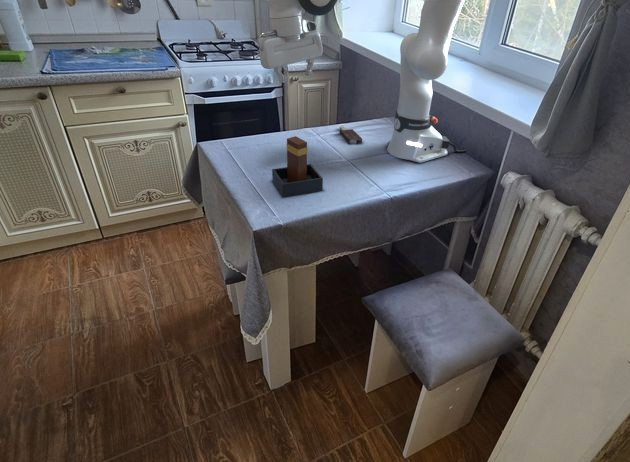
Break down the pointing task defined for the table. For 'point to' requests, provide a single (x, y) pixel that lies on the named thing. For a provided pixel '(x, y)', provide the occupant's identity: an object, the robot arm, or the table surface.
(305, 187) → the tray
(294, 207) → the table surface
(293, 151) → the chocolate box
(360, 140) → the ice cream bar
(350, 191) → the table surface
